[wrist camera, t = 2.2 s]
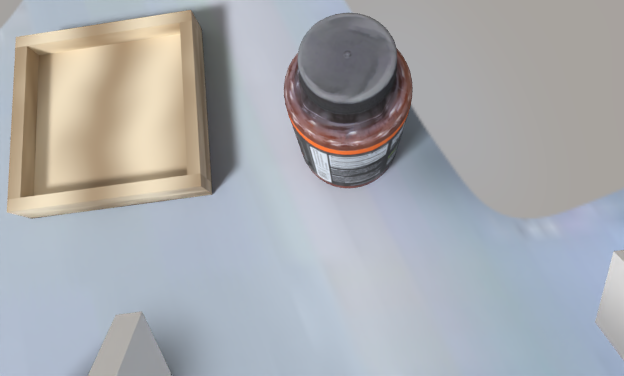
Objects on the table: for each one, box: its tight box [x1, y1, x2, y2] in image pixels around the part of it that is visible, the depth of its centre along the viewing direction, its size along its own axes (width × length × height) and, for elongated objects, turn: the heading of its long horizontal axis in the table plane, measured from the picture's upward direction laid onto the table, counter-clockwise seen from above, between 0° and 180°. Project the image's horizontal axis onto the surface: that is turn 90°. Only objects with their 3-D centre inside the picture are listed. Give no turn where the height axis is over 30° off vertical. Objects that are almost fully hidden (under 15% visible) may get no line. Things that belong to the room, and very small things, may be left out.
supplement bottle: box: [284, 13, 412, 188], centre depth 23 cm, size 6×6×11 cm
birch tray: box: [7, 10, 212, 218], centre depth 29 cm, size 12×12×2 cm
